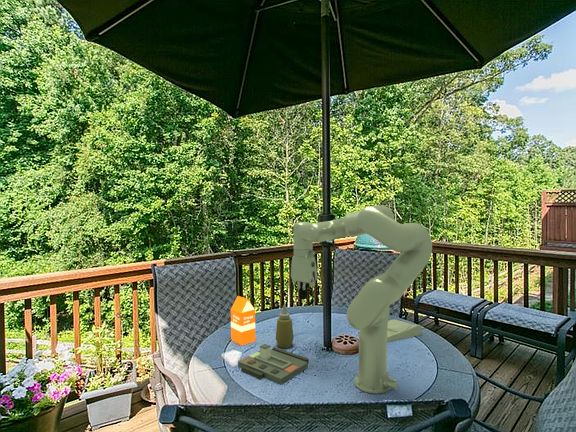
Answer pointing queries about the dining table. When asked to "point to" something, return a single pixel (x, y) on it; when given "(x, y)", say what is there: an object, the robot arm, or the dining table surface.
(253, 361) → the breaker panel
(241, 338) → the orange juice
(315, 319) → the dining table surface
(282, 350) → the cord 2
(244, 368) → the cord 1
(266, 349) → the breaker lever
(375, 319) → the robot arm
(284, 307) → the squeeze bottle
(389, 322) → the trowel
